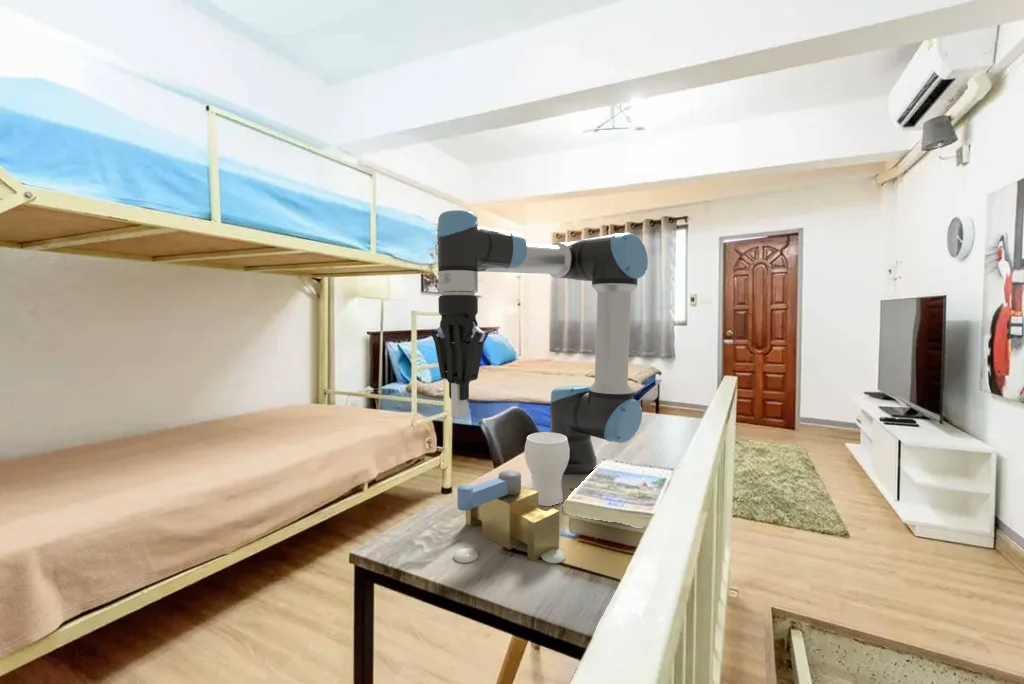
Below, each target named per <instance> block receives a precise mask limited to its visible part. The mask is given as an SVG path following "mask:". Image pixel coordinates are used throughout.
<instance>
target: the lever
mask: <svg viewBox="0 0 1024 684" xmlns="http://www.w3.org/2000/svg"><path fill="white" fill-rule="evenodd" d="M521 485H522V473H521V472H520V471H517V470H513V469H509V470H507V469H506V470H503V471H501V472H498V477H495V478H493V479H489V480H487V481H484V482H482V483H478V484H476V485H470V484H462V485H458V486H457V490H456V493H457V510H459V511H463V512H464V511H465V512H466V511H467V510H471V509H472V508H474V507H477V506H479V505H482V504H484V503H487V502H489V501H492V500H494V499H497V498H500V497H502V496H505V495H507V494H517V493H519V492H520V491H521Z"/></svg>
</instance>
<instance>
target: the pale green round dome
mask: <svg viewBox="0 0 1024 684" xmlns="http://www.w3.org/2000/svg"><path fill="white" fill-rule="evenodd" d="M540 558H541V559H542V561H544V562H547V564H548V563H549V564H560V563H563V562H564V561H565V559H566V553H565V552H564V551H562V550H561V549H559V548H556V549H551V550H549V551H548V552H546V553H544V554H542V555H541V557H540Z"/></svg>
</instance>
